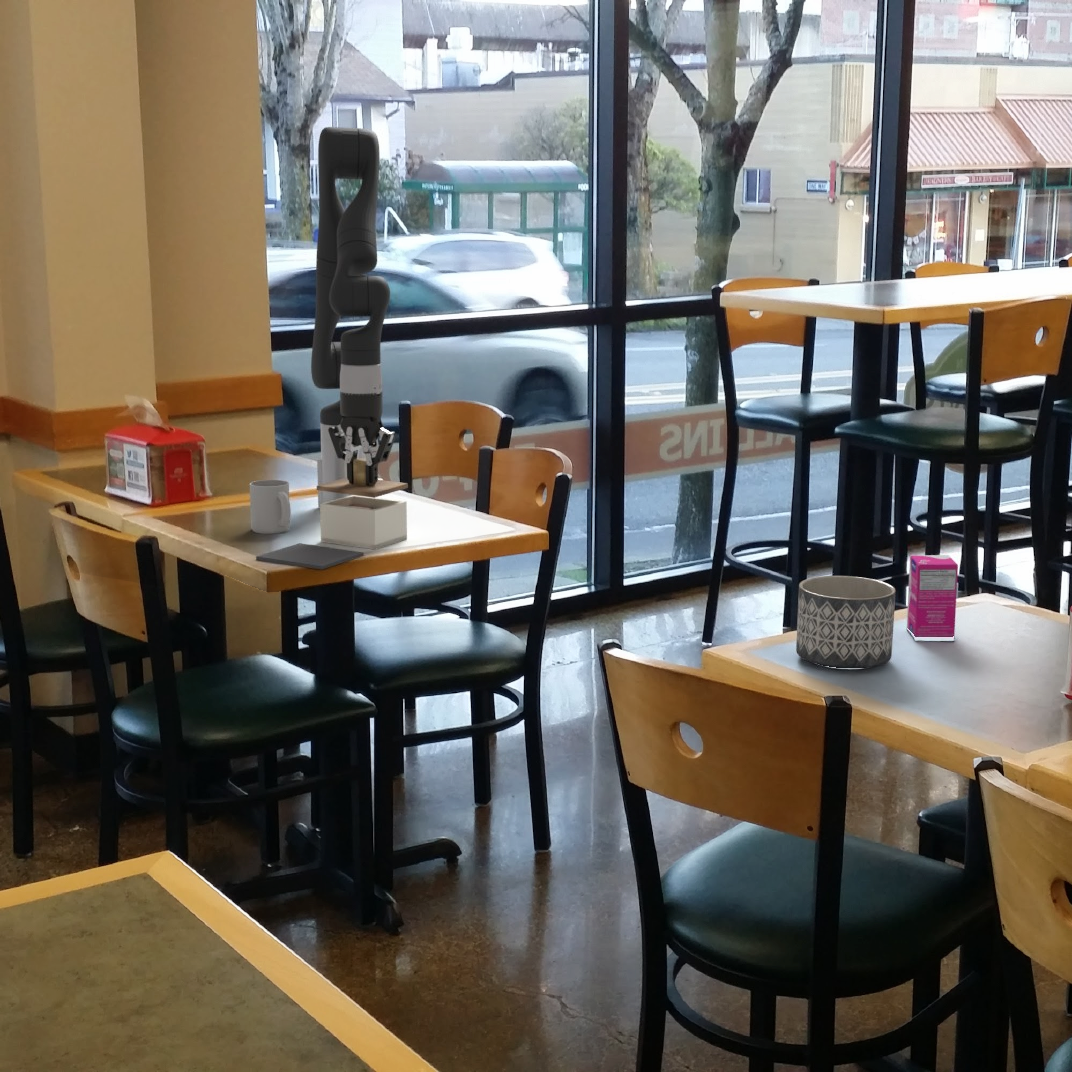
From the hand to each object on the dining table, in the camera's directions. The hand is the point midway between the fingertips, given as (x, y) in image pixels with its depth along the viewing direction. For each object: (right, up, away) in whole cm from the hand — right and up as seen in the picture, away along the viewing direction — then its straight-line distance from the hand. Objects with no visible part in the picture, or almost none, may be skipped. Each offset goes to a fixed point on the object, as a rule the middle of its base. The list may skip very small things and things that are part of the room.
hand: (362, 483), depth 273 cm
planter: (+73, -27, -69) cm, 104 cm away
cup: (-18, -9, +9) cm, 22 cm away
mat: (-8, -13, -12) cm, 19 cm away
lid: (0, -1, 0) cm, 1 cm away
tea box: (0, -10, +2) cm, 10 cm away
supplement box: (+88, -24, -57) cm, 107 cm away
